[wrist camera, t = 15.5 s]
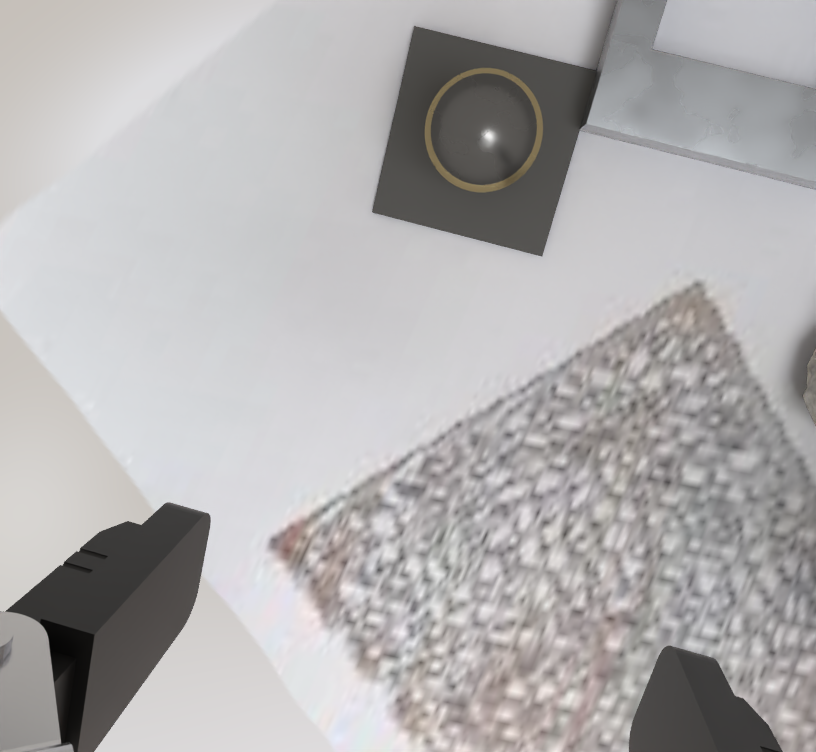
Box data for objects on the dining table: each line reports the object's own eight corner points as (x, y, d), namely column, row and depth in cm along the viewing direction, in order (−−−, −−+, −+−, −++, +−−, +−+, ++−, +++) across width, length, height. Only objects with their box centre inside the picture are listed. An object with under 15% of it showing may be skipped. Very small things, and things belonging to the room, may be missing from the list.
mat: (595, 72, 37) (596, 71, 36) (541, 255, 39) (541, 256, 39) (415, 28, 37) (414, 26, 37) (373, 212, 40) (372, 212, 39)
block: (949, -97, 33) (993, -126, 30) (833, 193, 37) (862, 192, 34) (665, -162, 34) (681, -197, 31) (578, 130, 38) (586, 123, 35)
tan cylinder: (539, 107, 37) (558, 79, 28) (515, 201, 38) (526, 203, 29) (449, 88, 37) (438, 53, 28) (428, 181, 39) (411, 178, 29)
